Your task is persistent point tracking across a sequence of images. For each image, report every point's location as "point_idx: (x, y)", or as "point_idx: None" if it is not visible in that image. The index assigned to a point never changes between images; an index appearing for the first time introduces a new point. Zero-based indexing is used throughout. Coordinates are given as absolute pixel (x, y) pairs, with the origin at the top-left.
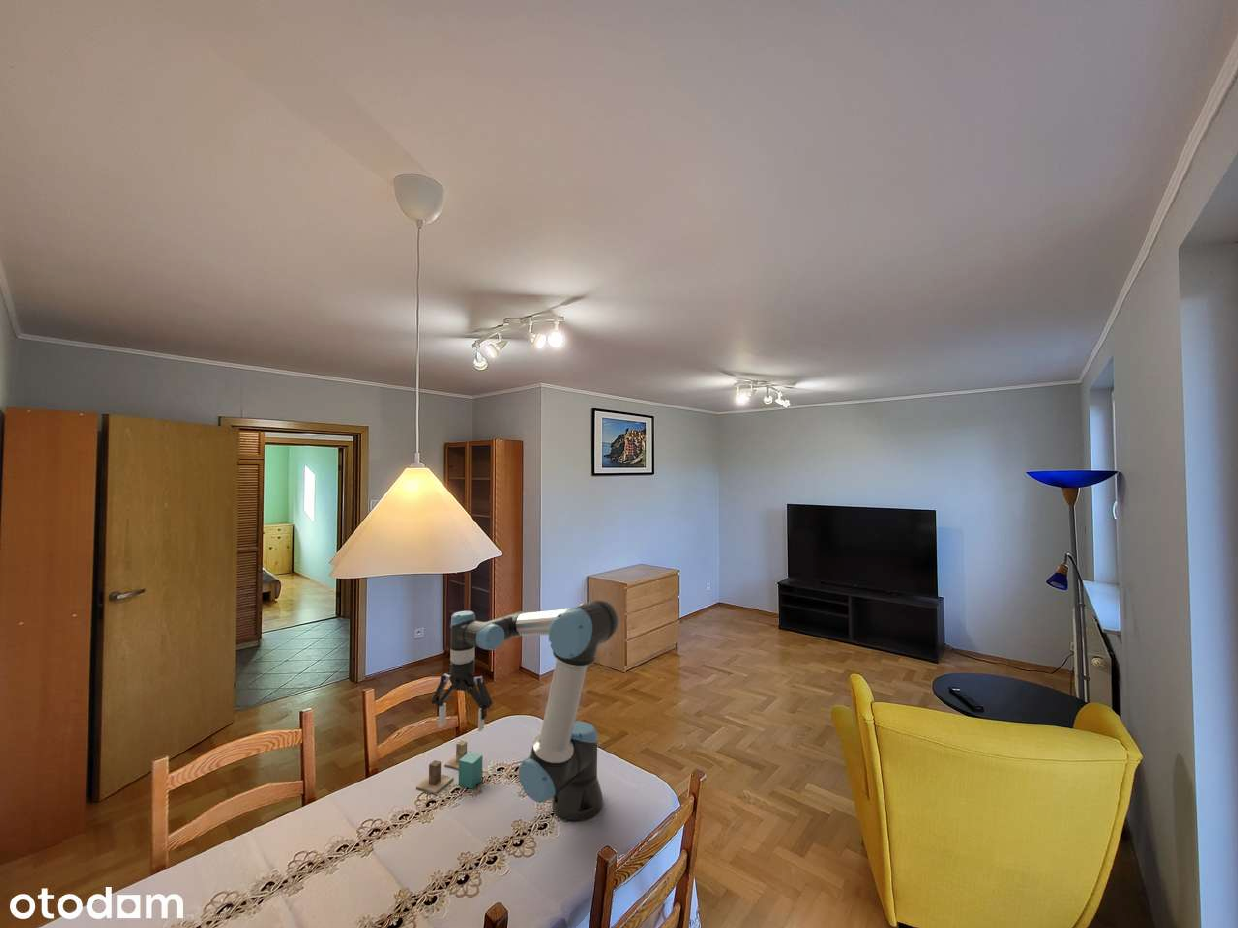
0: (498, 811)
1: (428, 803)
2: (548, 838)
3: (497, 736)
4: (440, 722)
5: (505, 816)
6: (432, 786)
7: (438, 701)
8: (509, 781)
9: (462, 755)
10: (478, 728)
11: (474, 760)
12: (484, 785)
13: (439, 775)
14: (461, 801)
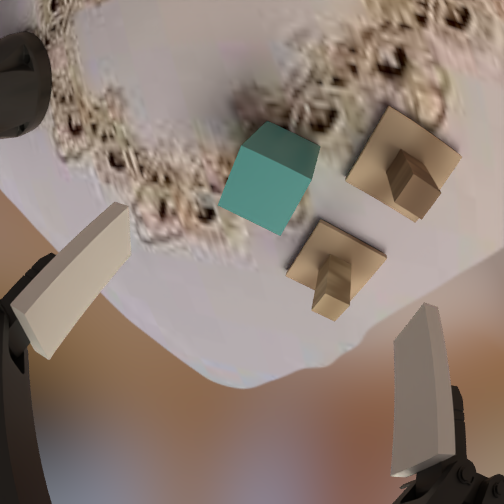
0: (154, 19)
1: (401, 62)
2: None
3: (258, 346)
4: (434, 332)
5: (132, 5)
6: (408, 144)
7: (460, 499)
8: (162, 152)
9: (327, 269)
10: (116, 215)
11: (238, 166)
12: (230, 136)
13: (392, 173)
14: (285, 57)
